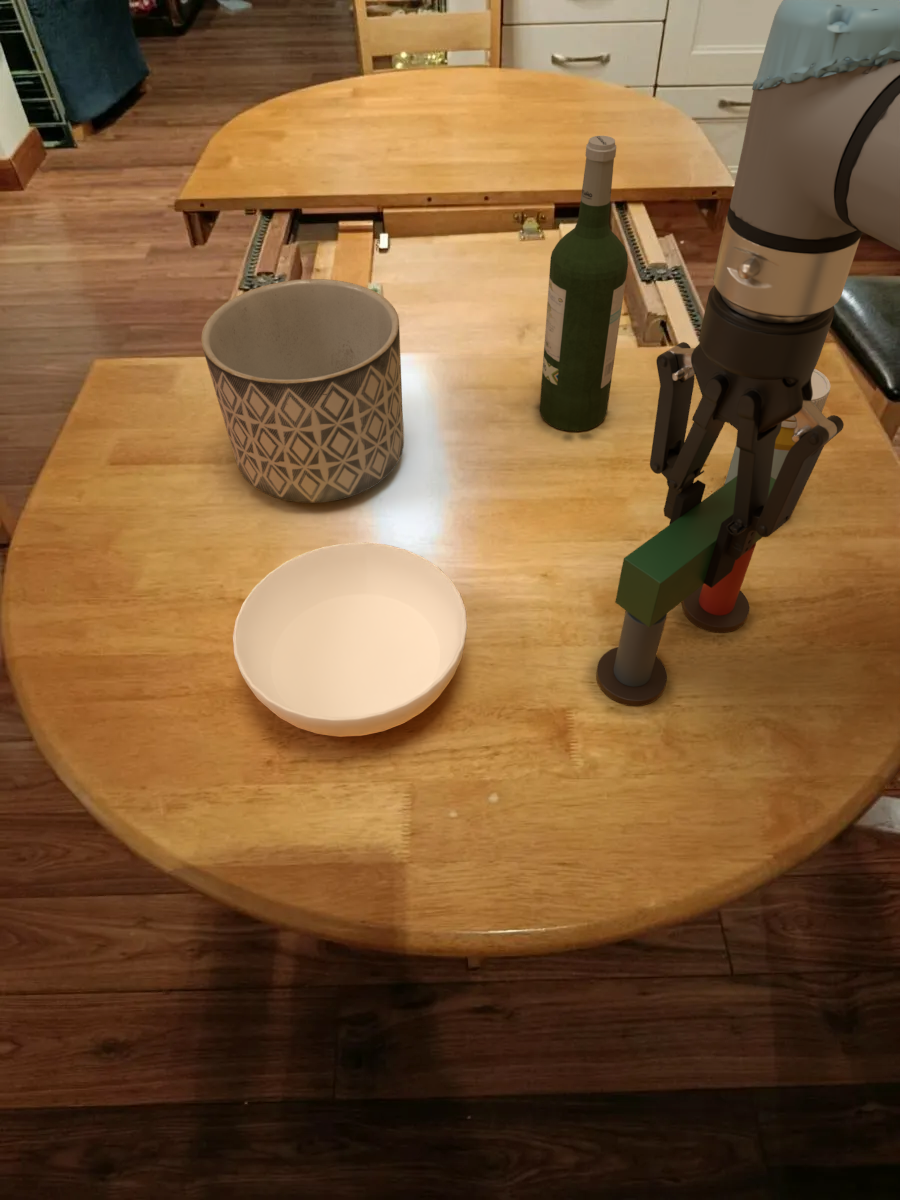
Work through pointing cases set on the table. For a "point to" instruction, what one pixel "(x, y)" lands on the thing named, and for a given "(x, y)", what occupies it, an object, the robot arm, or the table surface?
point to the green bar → (675, 558)
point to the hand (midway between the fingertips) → (696, 562)
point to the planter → (309, 387)
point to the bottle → (788, 428)
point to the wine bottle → (584, 304)
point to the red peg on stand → (721, 601)
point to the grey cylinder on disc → (634, 664)
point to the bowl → (350, 638)
